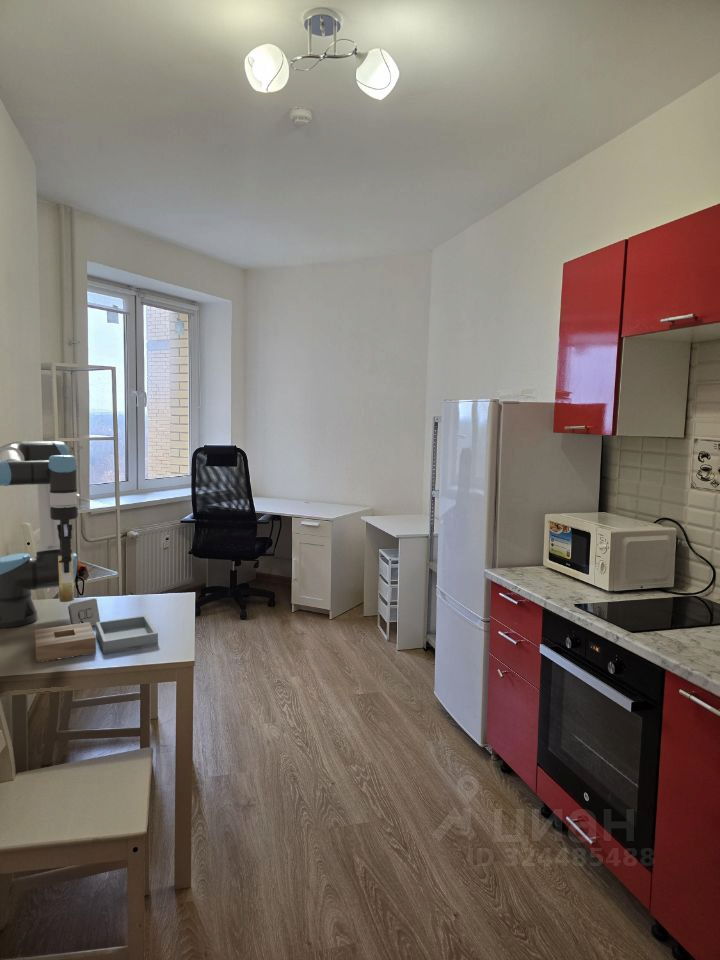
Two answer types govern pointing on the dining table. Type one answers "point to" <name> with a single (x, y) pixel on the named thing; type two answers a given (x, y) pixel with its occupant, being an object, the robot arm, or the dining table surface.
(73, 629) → the block
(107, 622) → the tray
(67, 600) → the pin
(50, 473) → the robot arm
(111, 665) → the dining table surface
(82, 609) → the electrical switch
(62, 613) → the dining table surface
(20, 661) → the dining table surface
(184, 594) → the dining table surface
